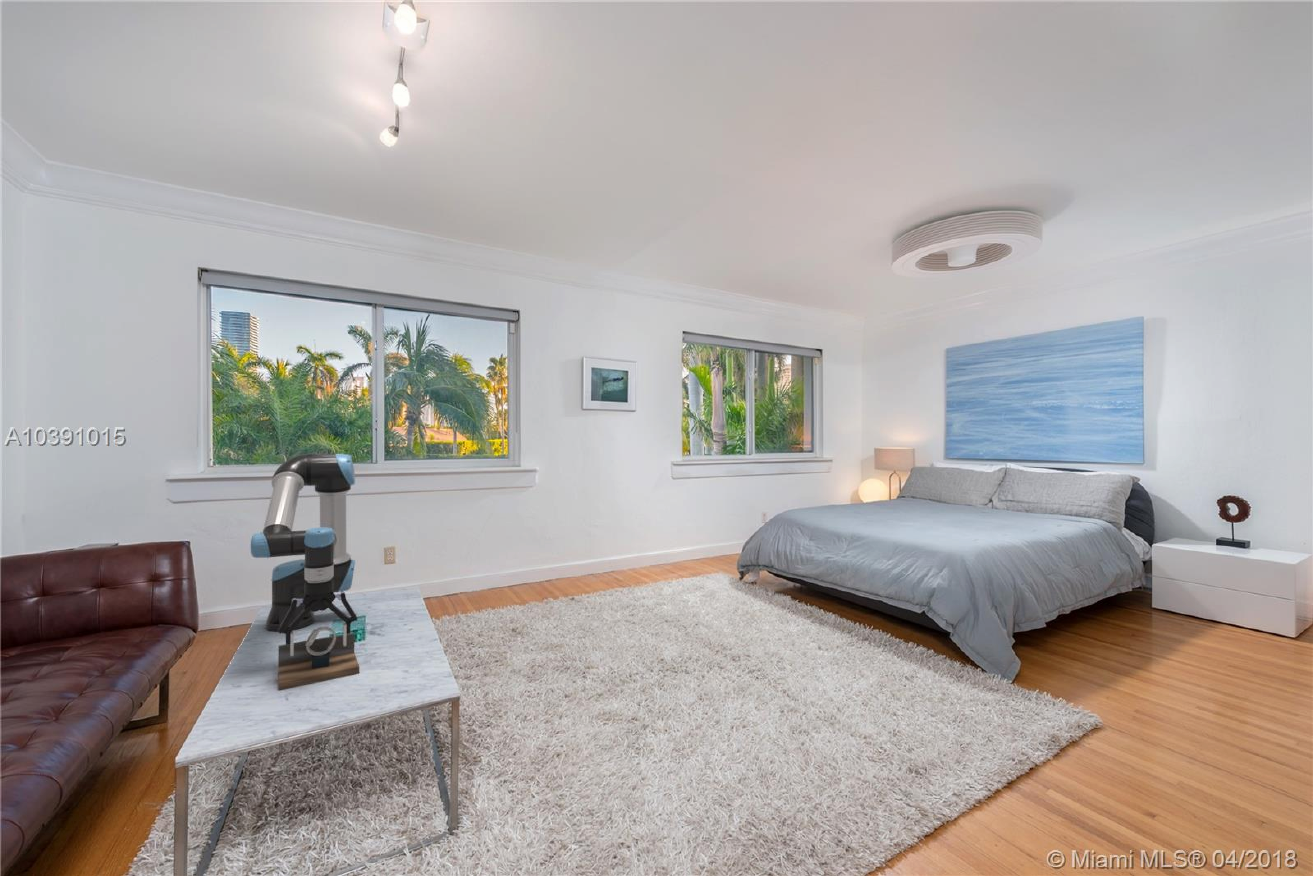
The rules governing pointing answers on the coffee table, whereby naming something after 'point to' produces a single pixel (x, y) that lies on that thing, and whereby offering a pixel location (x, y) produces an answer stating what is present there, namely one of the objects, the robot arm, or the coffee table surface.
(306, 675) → the display stand
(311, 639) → the watch
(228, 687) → the coffee table surface
